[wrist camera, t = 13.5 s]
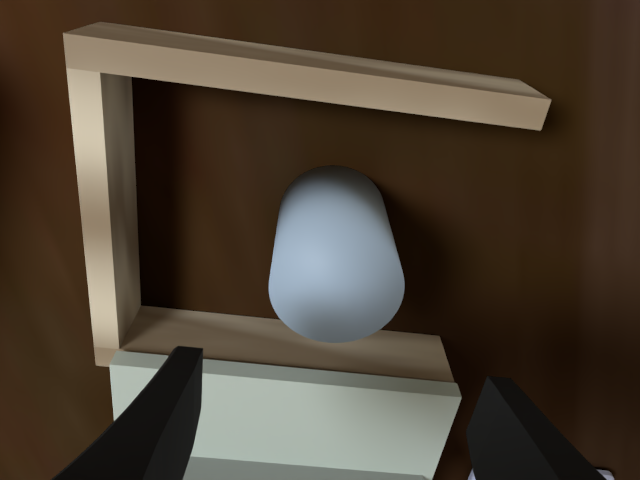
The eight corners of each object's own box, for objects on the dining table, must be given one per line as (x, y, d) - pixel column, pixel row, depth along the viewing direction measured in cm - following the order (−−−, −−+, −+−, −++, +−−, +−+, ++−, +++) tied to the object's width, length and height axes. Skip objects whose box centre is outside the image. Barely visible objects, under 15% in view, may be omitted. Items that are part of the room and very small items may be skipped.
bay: (402, 455, 29) (411, 506, 26) (127, 432, 28) (107, 482, 25) (518, 79, 19) (551, 100, 16) (100, 21, 18) (62, 33, 15)
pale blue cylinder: (374, 265, 23) (389, 348, 18) (274, 254, 23) (263, 336, 18) (394, 172, 21) (418, 238, 16) (284, 158, 20) (275, 222, 16)
